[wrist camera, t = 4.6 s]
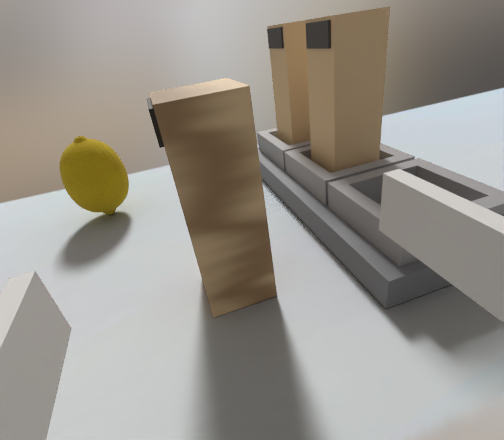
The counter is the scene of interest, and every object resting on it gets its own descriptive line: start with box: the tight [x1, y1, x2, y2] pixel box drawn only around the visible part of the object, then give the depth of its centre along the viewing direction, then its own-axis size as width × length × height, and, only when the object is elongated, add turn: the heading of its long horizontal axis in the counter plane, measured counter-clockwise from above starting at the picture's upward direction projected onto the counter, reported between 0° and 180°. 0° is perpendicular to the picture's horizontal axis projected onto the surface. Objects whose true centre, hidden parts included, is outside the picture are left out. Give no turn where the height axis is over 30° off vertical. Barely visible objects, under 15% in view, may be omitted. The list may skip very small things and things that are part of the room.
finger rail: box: [257, 7, 504, 309], centre depth 25 cm, size 10×25×14 cm, turn 18°
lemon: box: [60, 136, 129, 215], centre depth 30 cm, size 6×6×8 cm
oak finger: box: [147, 78, 277, 318], centre depth 18 cm, size 4×4×12 cm
